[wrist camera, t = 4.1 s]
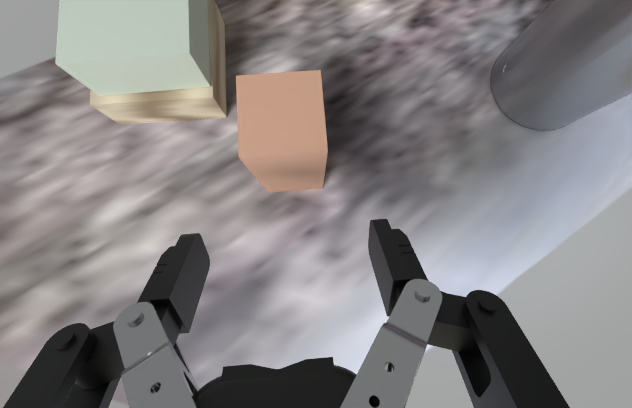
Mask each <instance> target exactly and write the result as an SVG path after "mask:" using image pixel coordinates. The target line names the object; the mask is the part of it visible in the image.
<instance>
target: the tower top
mask: <svg viewBox="0 0 632 408" xmlns="http://www.w3.org/2000/svg"><path fill="white" fill-rule="evenodd" d="M55 64H57V65H58V66H59V67H61V68H62V69H63V70H65V71H66V72H68V73H69V74H70V75H72V76H73V77H74V78H76V79H77V80H78V81H80V82H81V83H82V84H84V85H85V86H87V87H88V88H89V89H91V90H92V91H93V92H95V93H96V94H97V95H99V96H105V95H117V94H129V93H141V92H153V91H165V90H177V89H189V88H201V87H211V86H210V58H209V29H208V3H207V0H60V4H59V18H58V33H57V48H56V63H55Z"/></svg>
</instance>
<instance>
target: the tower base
mask: <svg viewBox="0 0 632 408" xmlns="http://www.w3.org/2000/svg"><path fill="white" fill-rule="evenodd" d="M207 3H208V29H209V58H210V86H211V87H201V88H189V89H177V90H165V91H153V92H141V93H129V94H117V95H105V96H99V95H97V94H96V93H95V92H93V91H92V90H91V92H90V105H91V106H92V107H94V108H95V109H97V110H98V111H100V112H102V113H103V114H105V115H106V116H108V117H109V118H111V119H112V120H114V121H116V122H117V123H119V124H135V123H150V122H166V121H182V120H198V119H214V118H227V106H226V61H225V24H224V21H223V19H222V16H221V14H220V11H219V9H218V6H217V4H216V1H215V0H207Z"/></svg>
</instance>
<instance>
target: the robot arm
mask: <svg viewBox="0 0 632 408" xmlns="http://www.w3.org/2000/svg"><path fill="white" fill-rule="evenodd" d="M491 89H492V92H493V95H494V98H495V100H496V102H497V103H498V105H499V107H500V108H501V109H502V110H503V112H504V113H505V114H506V115H507V116H509V117H510V118H511V119H512V120H514V121H515V122H517V123H519V124H521V125H523V126H525V127H529V128H532V129H537V130H553V129H557V128H560V127H564V126H566V125H568V124H570V123H572V122H574V121H576V120H578V119H580V118H582V117H584V116H586V115H588V114H590V113H592V112H594V111H596V110H598V109H600V108H602V107H604V106H606V105H608V104H610V103H612V102H614V101H616V100H618V99H621V98H623V97H625V96H627V95H629V94H631V93H632V0H553V1H552V2H551V3H550V4H549V5H548V6H547V7H546V8H545V9H544V10H543V11H542V13H541V14H540V15H539V16H538V17H537V18H536V19H535V20H534V21H533V22H532V23H531V24H530V25H529V26H528V27H527V28H526V29H525V30H524V31H523V32H522V33H521V34H520V35H519V36H518V37H517V38H516V40H515V41H514V42H513V43H512V44H511V45H510V46H509V47H508V48H507V49H506V50H505V51H504V52H503V53H502V54H501V55H500V57H499V58H498V59H497V61H496V62H495V64H494V67H493V69H492V74H491ZM368 248H369V255H370V259H371V262H372V266H373V269H374V273H375V276H376V280H377V283H378V286H379V290H380V293H381V297H382V300H383V303H384V307H385V310H386V314H387V316H390V317H389V319H388V321H387V323H386V324H385V323H384V324H383V325H382V327H381V328H380V330H379V332H378V334H377V336H376V338H375V340H374V342H373V344H372V346H371V348H370V350H369V352H368V354H367V356H366V358H365V360H364V362H363V364H362V366H361V368H360V370H359V372H358V374H357V375H356V374H355V373H353V372H352V371H350V370H348V369H346V368H343V367H340V366H336V365H334V364H333V357H328V358H317V359H306V360H303V361H301V362H298V363H295V364H292V365H290V366H287V367H284V368H282V369H271V368H266V367H261V366H256V365H251V364H249V365H238V366H227V367H223V372H222V376H220V377H218V378H216V379H214V380H212V381H210V382H209V383H207V384H206V385H204V386H203V387H202V388H201V389H200V388H199V387H198V385H197V383H196V381H195V379H194V377H193V375H192V373H191V371H190V369H189V367H188V365H187V363H186V361H185V359H184V356H183V354H182V352H181V350H180V348H179V346H178V344H177V342H176V340H177V338H178V335H179V334H180V333H189V331H190V328H191V325H192V321H193V318H194V315H195V312H196V309H197V306H198V302H199V299H200V296H201V293H202V290H203V287H204V283H205V280H206V277H207V274H208V271H209V266H210V259H209V255H208V253H207V250H206V247H205V245H204V242H203V240H202V237H201V235H200V234H199V233H196V234H183V235H181V236H180V237H179V240H178V242H177V244H176V246H171V247H169V248H168V249H167V250H166V251H165V252H164V253H163V254H162V255H161V257H160V259H159V261H158V263H157V266H156V267H155V269H154V271H153V274H152V275H151V277H150V279H149V281H148V282H147V284H146V286H145V288H144V290H143V292H142V294H141V296H140V298H139V300H138V302H137V303H136V304H133V305H131V306H129V307H127V308H126V309H125V310H123V311H122V312H121V313H120V314H119V315H118V317H117V318H116V320H115V321H113V322H111V323H108V324H105V325H102V326H99V327H97V328H94V329H90V328H89V327H88V326H87V325H85V324H83V323H76V324H72V325H69V326H67V327H65V328H63V329H61V330H59V331H58V332H57V333H55V334H54V335H53V336H52V337H51V338H50V339H49V340H48V341H47V342H46V344H45V345H44V347H43V348H42V350H41V351H40V353H39V354H38V356H37V357H36V359H35V360H34V362H33V363H32V365H31V366H30V368H29V369H28V371H27V372H26V374H25V376H24V377H23V378H22V380H21V381H20V383H19V385H18V386H17V387H16V389H15V391H14V392H13V394H12V395H11V396H10V398H9V400H8V401H7V403H6V404H5V406H4V407H3V408H108V407H109V405H110V402H111V400H112V397H113V395H114V392H115V390H116V387H117V385H118V382H119V380H120V377H121V378H122V382H123V385H124V389H125V393H126V396H127V400H128V404H129V407H130V408H405V405H406V402H407V400H408V397H409V394H410V391H411V388H412V385H413V382H414V380H415V377H416V374H417V371H418V369H419V366H420V363H421V360H422V357H423V355H424V352H425V349H426V346H427V344H429V345H433V346H437V347H442V348H446V349H450V350H452V351H453V354H454V356H455V359H456V362H457V364H458V367H459V370H460V372H461V375H462V377H463V380H464V382H465V385H466V388H467V390H468V393H469V396H470V398H471V401H472V403H473V406H474V408H570V407H569V406H568V404H567V403H566V401H565V399H564V398H563V396H562V394H561V393H560V391H559V390H558V388H557V386H556V385H555V383H554V381H553V380H552V378H551V377H550V375H549V373H548V372H547V370H546V369H545V367H544V365H543V364H542V362H541V360H540V359H539V357H538V356H537V354H536V352H535V351H534V349H533V348H532V346H531V344H530V343H529V341H528V339H527V338H526V336H525V335H524V333H523V331H522V330H521V328H520V326H519V325H518V323H517V322H516V320H515V318H514V317H513V316H512V314H511V312H510V310H509V309H508V307H507V305H506V304H505V303H504V302H503V301H502V300H501V299H500V298H499V297H498V296H496V295H494V294H492V293H490V292H487V291H483V290H475V291H472V292H470V293H469V294H468V295H467V297H462V296H457V295H451V294H447V293H444V292H442V291H440V290H439V288H438V287H437V286H436V285H434V284H433V283H431V282H429V281H428V279H427V277H426V275H425V273H424V271H423V269H422V267H421V265H420V262H419V260H418V258H417V256H416V254H415V253H414V250H413V248H412V246H411V243H410V241H409V239H408V237H407V236H406V235H405V234H404V233H403V232H402V231H401V230H400V229H391V227H390V225H389V222H388V220H387V219H378V220H371V221H370V229H369V242H368ZM74 383H75V384H74ZM73 385H74V386H73Z"/></svg>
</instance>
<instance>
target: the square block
mask: <svg viewBox="0 0 632 408" xmlns="http://www.w3.org/2000/svg"><path fill="white" fill-rule="evenodd" d="M236 93H237V120H238V147H239V158H240V159H241V161H242V162H243V163H244V164H245V165H246V167H247V168H248V169H249V170H250V171H251V173H252V174H253V175H254V176H255V178H256V179H257V180H258V181H259V182H260V184H261V185H262V186H263V187H264V188H265V190H266V191H267V192H268V193H269V192H282V191H295V190H309V189H322V188H323V183H324V176H325V168H326V161H327V153H328V147H327V136H326V124H325V113H324V102H323V90H322V79H321V70H312V71H298V72H283V73H268V74H254V75H239V76H236Z"/></svg>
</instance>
